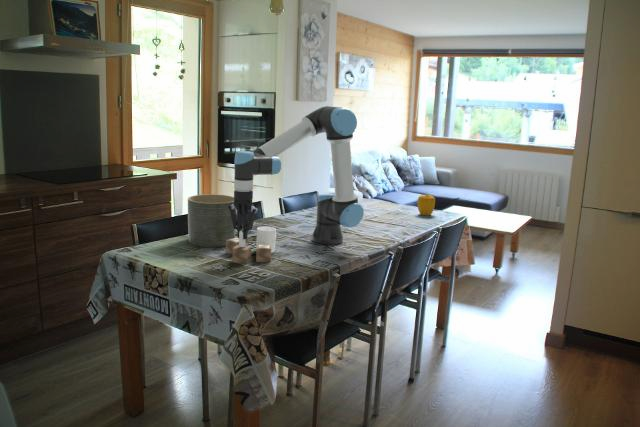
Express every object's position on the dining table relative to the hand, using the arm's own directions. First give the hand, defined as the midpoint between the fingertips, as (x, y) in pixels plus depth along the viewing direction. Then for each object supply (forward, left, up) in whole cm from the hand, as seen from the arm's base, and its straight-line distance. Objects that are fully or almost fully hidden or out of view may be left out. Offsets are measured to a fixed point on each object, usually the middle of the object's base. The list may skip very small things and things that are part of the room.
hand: (242, 246), depth 226 cm
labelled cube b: (-7, -6, -6) cm, 11 cm away
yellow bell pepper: (-49, -142, -7) cm, 150 cm away
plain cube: (0, 0, -6) cm, 6 cm away
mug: (-2, -20, -7) cm, 21 cm away
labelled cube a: (+8, -9, -6) cm, 14 cm away
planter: (+27, -20, -7) cm, 34 cm away
